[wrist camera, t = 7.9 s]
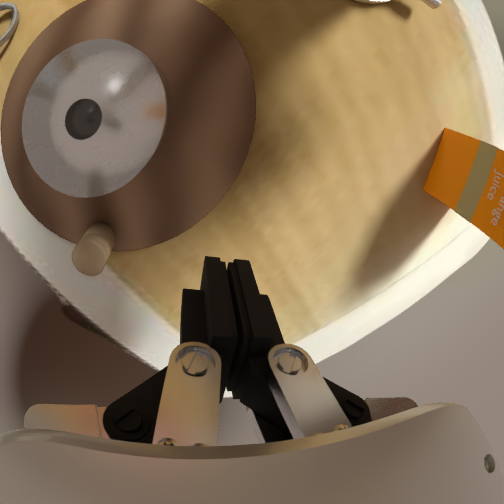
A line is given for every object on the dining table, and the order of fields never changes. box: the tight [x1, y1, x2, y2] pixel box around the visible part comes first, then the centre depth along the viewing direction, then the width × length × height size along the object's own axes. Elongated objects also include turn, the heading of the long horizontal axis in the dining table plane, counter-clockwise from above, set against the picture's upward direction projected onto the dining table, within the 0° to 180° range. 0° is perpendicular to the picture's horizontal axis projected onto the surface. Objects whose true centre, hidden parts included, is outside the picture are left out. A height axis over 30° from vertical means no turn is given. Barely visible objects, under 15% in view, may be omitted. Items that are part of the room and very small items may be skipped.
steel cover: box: [22, 39, 170, 198], centre depth 16 cm, size 12×12×3 cm
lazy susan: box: [1, 0, 256, 276], centre depth 16 cm, size 24×24×6 cm
